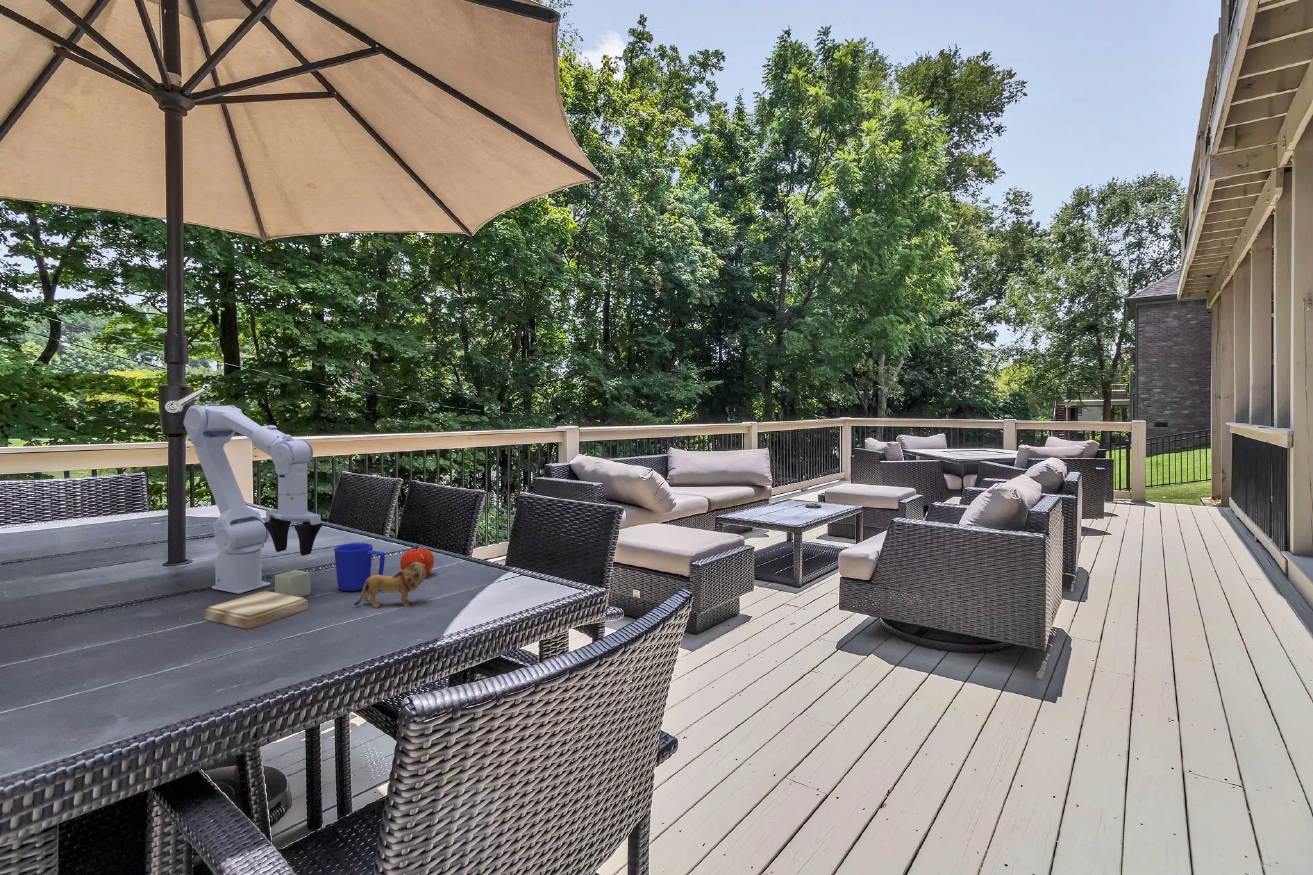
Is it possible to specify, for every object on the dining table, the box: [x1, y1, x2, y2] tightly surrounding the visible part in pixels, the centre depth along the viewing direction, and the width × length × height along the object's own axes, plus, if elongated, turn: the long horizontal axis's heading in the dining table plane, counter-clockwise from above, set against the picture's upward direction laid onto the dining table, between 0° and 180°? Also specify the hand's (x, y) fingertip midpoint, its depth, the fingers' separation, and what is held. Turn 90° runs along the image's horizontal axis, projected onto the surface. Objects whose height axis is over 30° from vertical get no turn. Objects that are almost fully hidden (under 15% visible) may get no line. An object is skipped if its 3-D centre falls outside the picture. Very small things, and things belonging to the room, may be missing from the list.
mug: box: [333, 542, 386, 592], centre depth 149 cm, size 8×12×10 cm
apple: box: [399, 545, 435, 576], centre depth 161 cm, size 8×8×8 cm
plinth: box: [204, 590, 309, 630], centre depth 131 cm, size 13×13×2 cm
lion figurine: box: [353, 562, 427, 609], centre depth 139 cm, size 15×5×9 cm, turn 111°
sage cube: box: [274, 569, 311, 598], centre depth 144 cm, size 5×5×5 cm
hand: (293, 552), depth 143 cm, fingers open, 7 cm apart
